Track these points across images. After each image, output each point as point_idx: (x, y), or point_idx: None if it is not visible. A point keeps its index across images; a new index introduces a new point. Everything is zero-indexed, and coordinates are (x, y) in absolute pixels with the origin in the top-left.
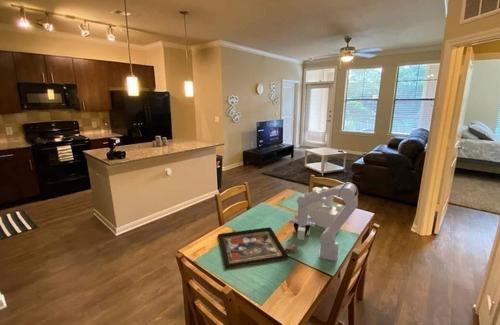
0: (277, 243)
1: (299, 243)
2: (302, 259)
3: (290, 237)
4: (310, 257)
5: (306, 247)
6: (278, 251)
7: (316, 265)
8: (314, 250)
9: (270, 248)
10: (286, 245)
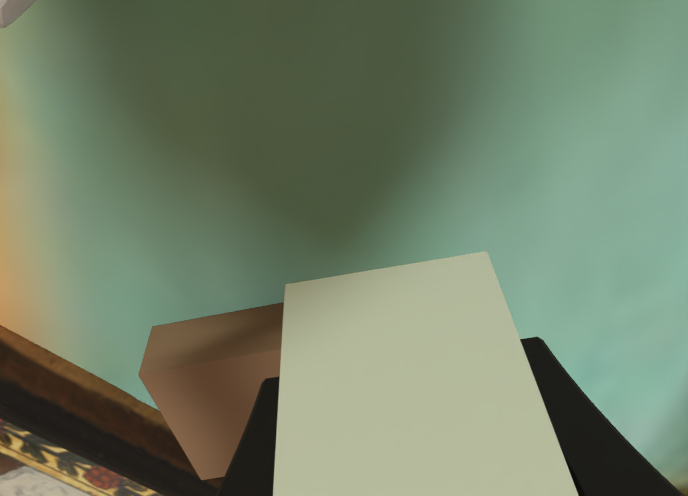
0: (7, 421)
1: (331, 146)
2: None
3: (29, 20)
4: (592, 379)
5: (500, 199)
6: (142, 494)
7: (673, 456)
8: (661, 210)
9: (6, 493)
10: (177, 423)
